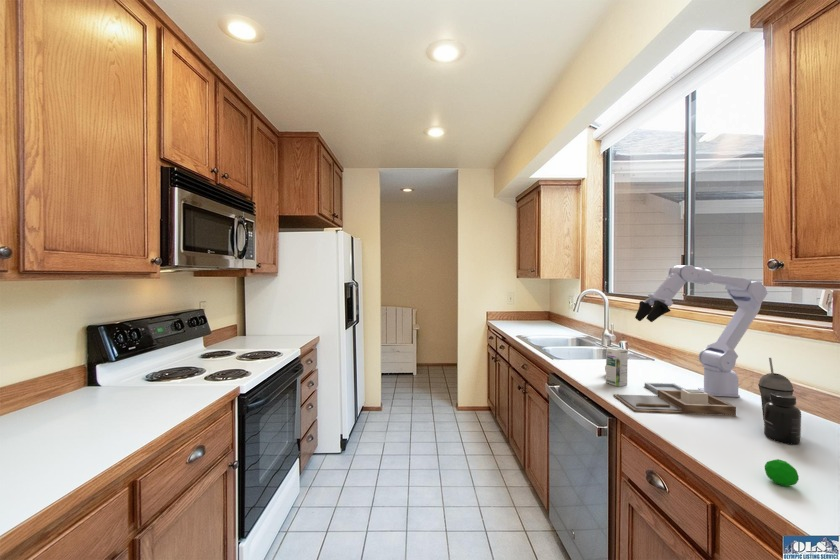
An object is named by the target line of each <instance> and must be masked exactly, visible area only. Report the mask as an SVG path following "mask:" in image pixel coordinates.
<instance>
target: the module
mask: <svg viewBox="0 0 840 560" xmlns="http://www.w3.org/2000/svg"><path fill="white" fill-rule="evenodd" d="M680 400H681V401H683V402H684V403H686V404H708V394H707V393H705V392H703V391H701V390H699V389H687V388H684V389H681V399H680Z"/></svg>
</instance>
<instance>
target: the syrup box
mask: <svg viewBox="0 0 840 560" xmlns="http://www.w3.org/2000/svg"><path fill="white" fill-rule="evenodd" d="M628 352H629V350H628V349H626V348H621V347H616V346H615V347H614V346H609V347H606V351H605V357H606V358H605V359H606V360H605V366H606V371H605V383H606V384H608V383H609V385H612V386H615V387H623V386H628V360H629V359H628V356H629V355H628Z"/></svg>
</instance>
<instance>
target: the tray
mask: <svg viewBox="0 0 840 560" xmlns="http://www.w3.org/2000/svg"><path fill="white" fill-rule="evenodd" d="M644 388H646V389H648V390H649V391H652V392H653V393H655V395H656V394H657V395H658V390H681V389H685V388H684V387H682V386H681V385H678V384H676V383H671V382H670V383H666V382H665V383H663V382H644Z"/></svg>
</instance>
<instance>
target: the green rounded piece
mask: <svg viewBox="0 0 840 560" xmlns="http://www.w3.org/2000/svg"><path fill="white" fill-rule="evenodd" d="M764 471H765V474H766V476H767V478H769V479H770V480H771V481H772V482H773V483H775V484H776V485H779V486H782V487H790V486H791V487H792V486H795V485H796V484H797V483H798V482H799V475H798V472H797V469H796V468H795V467H794V466H793V465H791V464H790V463H789V462H787V461H786V460H782V459H777V458H776V459H773V460H769V461H766V462H765V463H764Z"/></svg>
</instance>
